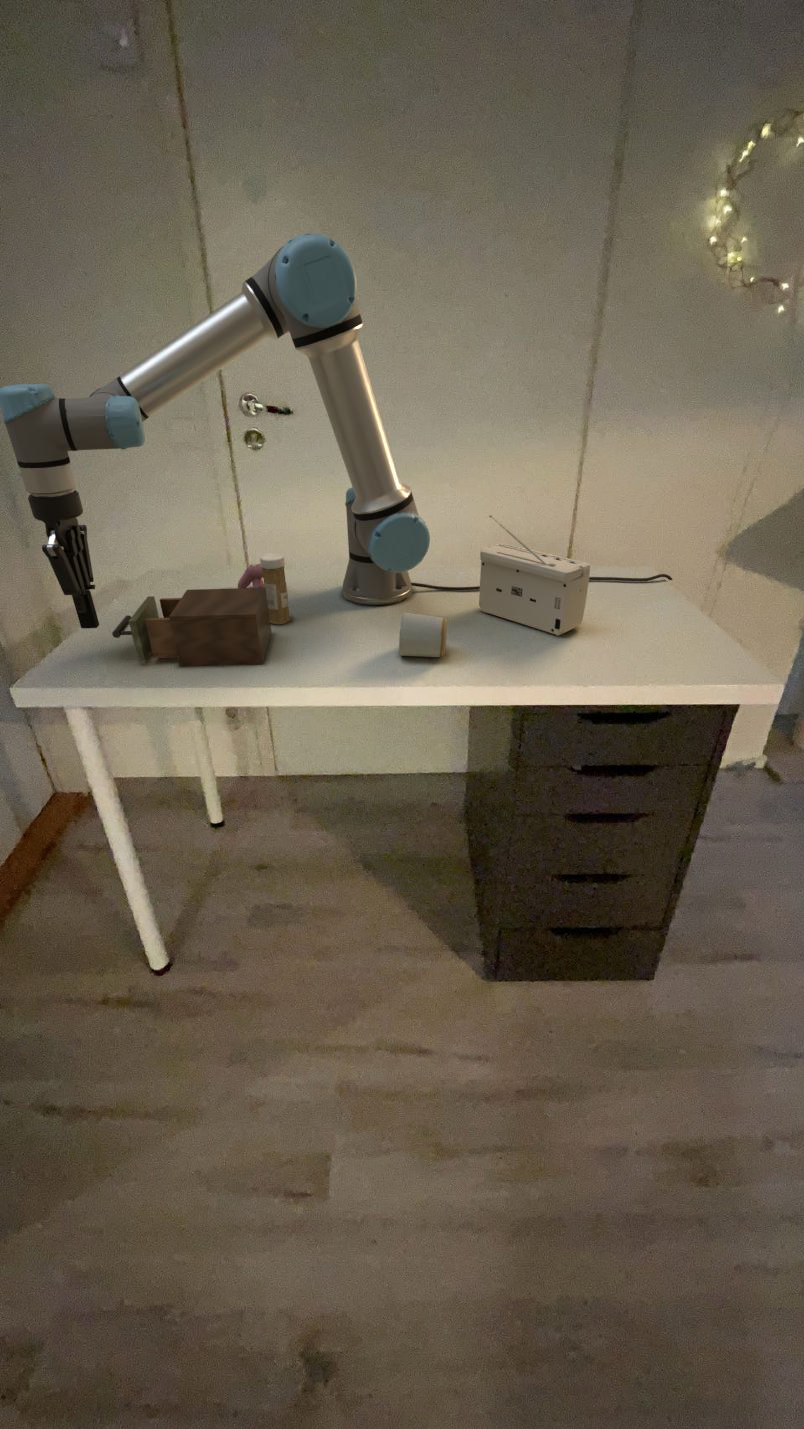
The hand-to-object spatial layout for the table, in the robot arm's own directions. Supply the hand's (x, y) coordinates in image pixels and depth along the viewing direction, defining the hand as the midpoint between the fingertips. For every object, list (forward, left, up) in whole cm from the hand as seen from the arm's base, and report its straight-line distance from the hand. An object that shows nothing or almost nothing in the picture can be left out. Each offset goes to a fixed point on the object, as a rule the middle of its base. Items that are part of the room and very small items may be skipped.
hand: (90, 626), depth 118 cm
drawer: (-14, 0, -5) cm, 15 cm away
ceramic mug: (-60, +3, -6) cm, 60 cm away
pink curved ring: (-26, -30, -6) cm, 40 cm away
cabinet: (-24, 0, -5) cm, 24 cm away
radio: (-82, -10, -6) cm, 83 cm away
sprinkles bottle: (-32, -13, -6) cm, 35 cm away
